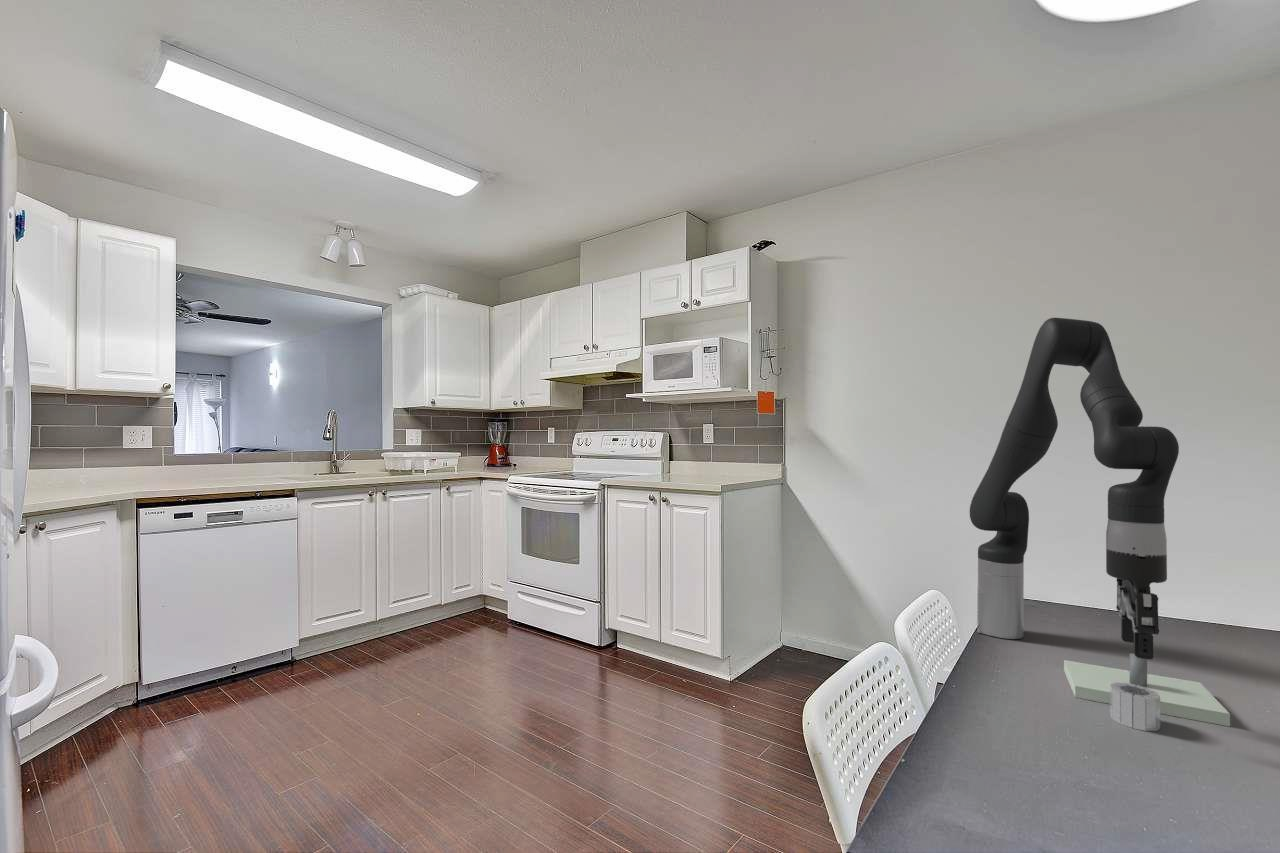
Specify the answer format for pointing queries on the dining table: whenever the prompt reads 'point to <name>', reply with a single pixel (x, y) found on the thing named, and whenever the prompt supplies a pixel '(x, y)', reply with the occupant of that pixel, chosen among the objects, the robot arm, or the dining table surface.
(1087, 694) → the post base
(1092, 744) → the dining table surface
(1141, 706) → the cylinder
